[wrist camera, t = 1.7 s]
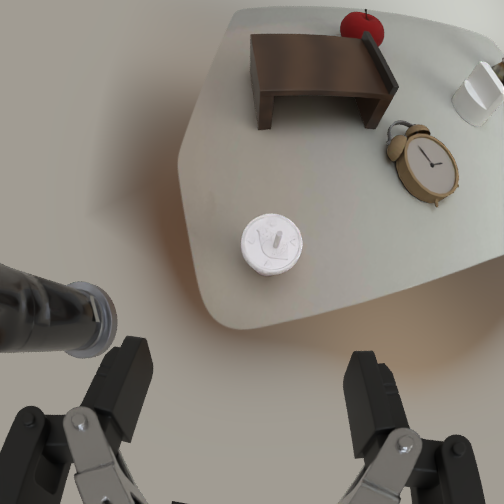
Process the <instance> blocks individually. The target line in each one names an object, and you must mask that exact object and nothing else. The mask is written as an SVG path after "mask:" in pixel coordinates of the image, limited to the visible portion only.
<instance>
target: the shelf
mask: <svg viewBox="0 0 504 504" xmlns="http://www.w3.org/2000/svg"><path fill="white" fill-rule="evenodd" d="M250 74H251V81H252V88H253V95H254V102H255V109H256V117H257V124H258V130H266V129H271V123H272V114H273V104H274V96H298V95H310V96H346V97H354V98H355V101H356V104H357V106H358V109H359V112H360V115H361V118H362V121H363V124H364V127H365V129H376V127H377V125H378V123H379V122H380V120H381V118H382V116H383V115H384V113H385V111H386V109H387V108H388V106H389V104H390V102H391V101H392V99H393V97H394V95H395V93H396V92H397V90H398V88H399V86H398V84H397V82H396V80H395V78H394V76H393V74H392V72H391V70H390V68H389V66H388V64H387V62H386V60H385V59H384V57H383V55H382V53H381V51H380V49H379V48H378V46H377V44H376V42H375V41H374V39H373V37H372V36H371V34H370V32H368V31H364V33H363V35H362V38H361V39H357V38H348V37H338V36H326V35H309V34H251V39H250Z"/></svg>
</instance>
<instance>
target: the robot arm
mask: <svg viewBox="0 0 504 504" xmlns="http://www.w3.org/2000/svg"><path fill="white" fill-rule="evenodd" d="M103 329H104V313H103V309H102V307H101V304H100V303H99V301H98V300H97V298H96V297H95V296H94V295H93V294H91V293H90V292H88V291H85V290H82V289H76V288H73V287H70V286H66V285H63V284H59V283H56V282H53V281H50V280H47V279H44V278H41V277H37V276H34V275H31V274H28V273H25V272H22V271H19V270H16V269H13V268H10V267H8V266H5V265H3V264H1V263H0V353H12V352H13V353H15V352H45V351H67V350H87V349H89V348H91V347H93V346H94V345H95V344H96V343H97V342H98V341H99V339H100V337H101V335H102V333H103ZM152 374H153V362H152V359H151V355H150V351H149V347H148V343H147V340H146V339H145V338H140V337H133V336H126V338H125V339H124V341H123V343H122V345H121V347H113V348H112V349H111V350H110V351H109V352H108V353H107V354H106V355H105V356H104V358H103V360H102V362H101V364H100V367H99V368H98V370H97V372H96V375H95V376H94V379H93V381H92V383H91V385H90V387H89V389H88V391H87V393H86V395H85V397H84V400H83V402H82V404H81V405H80V406H79V407H76V408H73V409H71V410H70V411H69V412H67V414H66V415H44V413H43V412H42V411H41V410H40V409H39V408H38V407H35V406H27V407H25V408H23V409H21V410H20V411H19V412H18V414H17V415H16V417H15V420H14V422H13V424H12V426H11V429H10V431H9V433H8V435H7V438H6V440H5V443H4V445H3V447H2V450H1V452H0V504H60V502H61V498H62V494H63V491H64V487H65V483H66V480H67V476H68V473H69V470H70V466H71V463H74V464H75V467H76V471H77V473H76V474H75V475H74V479H75V483H76V485H77V488H78V491H79V494H80V496H81V499H82V501H83V504H148V503H147V501H146V499H145V498H144V496H143V495H142V493H141V492H140V490H139V489H138V487H137V485H136V484H135V482H134V480H133V478H132V476H131V473H130V472H129V469H128V468H127V465H126V463H125V461H124V459H123V457H122V454H121V452H120V450H119V447H120V444H121V441H124V442H128V443H131V440H132V436H133V433H134V430H135V427H136V424H137V421H138V417H139V414H140V412H141V409H142V406H143V403H144V399H145V397H146V394H147V391H148V388H149V385H150V382H151V379H152ZM343 390H344V395H345V401H346V407H347V412H348V418H349V424H350V430H351V437H352V443H353V450H354V456H355V459H356V458H364V462H365V465H364V466H363V468H362V469H361V471H360V472H359V474H358V475H357V477H356V478H355V480H354V482H353V483H352V484H351V486H350V487H349V489H348V490H347V491H346V493H345V495H344V496H343V497H342V498H341V500H340V501H339V502H338V504H399V503H400V500H401V498H400V493H401V491H402V489H403V487H404V486H406V487H410V489H411V497H412V504H485V499H484V494H483V489H482V485H481V480H480V476H479V472H478V468H477V464H476V460H475V456H474V453H473V449H472V446H471V443H470V442H469V440H468V439H466V438H465V437H464V436H461V435H451V436H449V437H448V438H446V439H445V441H444V442H443V441H434V440H426V439H422V438H420V436H419V435H418V434H417V433H416V432H415V431H414V430H412V429H410V427H409V425H408V422H407V418H406V415H405V411H404V408H403V405H402V401H401V398H400V395H399V394H398V393H399V392H398V389H397V386H396V382H395V379H394V377H393V373H392V372H391V371H390V369H389V368H388V367H387V366H386V365H385V363H382V364H378V363H377V360H376V357H375V354H374V352H373V351H354V352H353V354H352V356H351V359H350V362H349V364H348V367H347V370H346V372H345V375H344V381H343ZM172 504H185V503H179V502H174V501H172Z"/></svg>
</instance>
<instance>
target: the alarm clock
mask: <svg viewBox="0 0 504 504" xmlns="http://www.w3.org/2000/svg"><path fill="white" fill-rule="evenodd" d="M399 124H400V125H404V126H407V127H409V128H408V130H407V131H406V134H405V136H403V135H398V136H395V137H394V138H393V139H392V140H391V128H392V127H393V126H394V125H399ZM387 135H388V141H387V142H386V143H387V144H388V148H387V154H388V157H389V158H390V159H391V160H392V161H393V162H394V161H395V160H396V168H397V171H398V174H399V177H400V179H401V181H402V182H403V184H404V186H405V187H406V188H407V189H408V190H409V192H410V193H411V194H412V195H414V196H415V197H417V198H418V199H420V200H421V201H425V202H428V203H435V206H436V207H438V202H439V201H440V200H442V199H444V198H445V197H447V196H449V195H450V194H452V193H454V191H455V189H456V188H457V187H459V185H458V180H459V175H458V168H457V165H456V162H455V159H454V158H453V156H452V154H451V153H450V151H449V150H448V149H447V148H446V146H445V145H444V144H443V143H442V142H440V141H439V140H437V139H436V138H435V137H432V136H430V131H429V129H428V128H427V127H425V126H424V125H416V124H414V125H412V124H410V123H408V122H406V121H401V120H400V121H396V122H394V123H393V124H392V125H391V126H390V127H389V129H388V132H387ZM406 141H407V142H406Z"/></svg>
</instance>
